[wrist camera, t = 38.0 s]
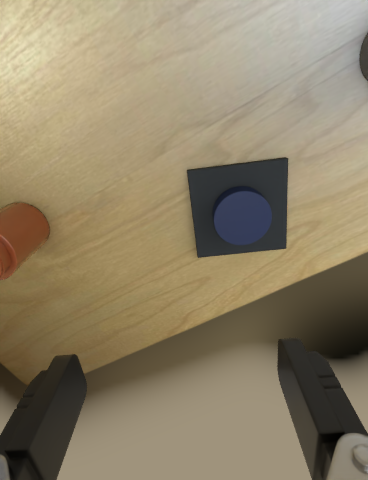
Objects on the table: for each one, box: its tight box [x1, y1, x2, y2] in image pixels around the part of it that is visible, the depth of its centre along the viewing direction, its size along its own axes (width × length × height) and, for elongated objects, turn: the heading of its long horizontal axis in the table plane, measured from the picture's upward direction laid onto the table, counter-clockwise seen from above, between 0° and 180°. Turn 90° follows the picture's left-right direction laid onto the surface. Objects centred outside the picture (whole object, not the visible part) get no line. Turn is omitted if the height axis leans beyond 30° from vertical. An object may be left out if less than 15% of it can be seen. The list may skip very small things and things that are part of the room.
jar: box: [0, 203, 49, 280], centre depth 29 cm, size 6×6×9 cm
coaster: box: [187, 158, 288, 258], centre depth 32 cm, size 10×10×1 cm
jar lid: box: [213, 186, 272, 245], centre depth 30 cm, size 6×6×2 cm
